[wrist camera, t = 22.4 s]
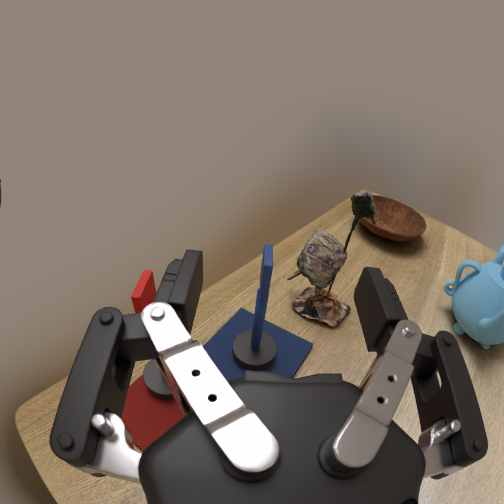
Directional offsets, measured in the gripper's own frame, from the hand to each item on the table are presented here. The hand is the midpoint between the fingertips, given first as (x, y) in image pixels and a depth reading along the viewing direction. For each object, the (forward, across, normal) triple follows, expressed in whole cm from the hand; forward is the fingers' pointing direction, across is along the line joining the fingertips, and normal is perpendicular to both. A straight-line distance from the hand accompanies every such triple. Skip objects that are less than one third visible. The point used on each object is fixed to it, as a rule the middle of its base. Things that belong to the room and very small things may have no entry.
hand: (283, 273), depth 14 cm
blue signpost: (+11, 0, +23) cm, 25 cm away
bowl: (+50, -33, +24) cm, 64 cm away
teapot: (+16, -43, +23) cm, 51 cm away
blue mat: (+11, 0, +23) cm, 26 cm away
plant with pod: (+22, -10, +24) cm, 33 cm away
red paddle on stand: (+5, +10, +23) cm, 26 cm away
